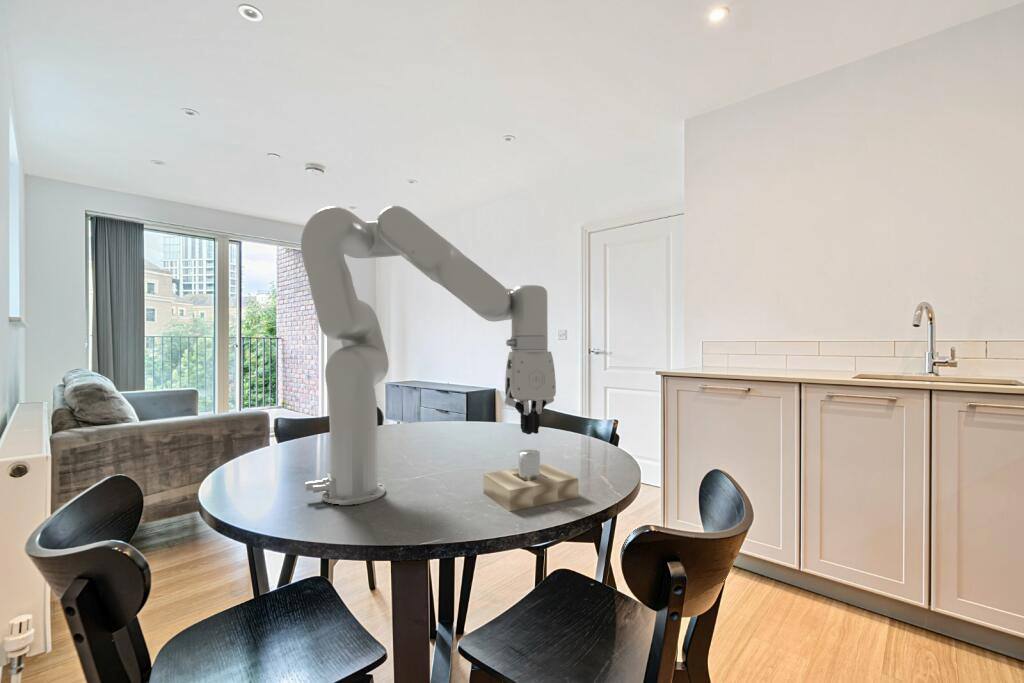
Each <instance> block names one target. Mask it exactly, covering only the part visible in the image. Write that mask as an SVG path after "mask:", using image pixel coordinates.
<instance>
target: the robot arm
mask: <svg viewBox="0 0 1024 683" xmlns="http://www.w3.org/2000/svg"><path fill="white" fill-rule="evenodd" d="M300 251H301V256H302V262H303V264H304V269H305V272H306V276H307V280H308V283H309V286H310V287H309V288H310V293H311V297H312V301H313V305H314V308H315V312H316V316H317V317H316V318H317V320H318V325H319V327H320V330H321V332H322V333H323V334H324V335H325V336H326V337H327V338H330V339H332V340H335V341H340V342H341V346H342V347H340V348H338V349H336V350H335V351H334V352H333V353H332V354H331V355H330V356H329V358H328V359H327V362H326V364H325V370H324V371H325V372H324V373H325V375H324V377H325V385H326V390H327V397H328V412H329V416H328V418H329V419H328V421H329V422H328V423H329V473H326V477H322V478H321V479H320V480H309V481H305V484H304V485H305V486H304V488H305V492H312V493H313V494H314V493H320V492H321V500H322V499H323V500H324V501H325V502H324V501H323V500H322V501H323V502H324V503H326V502H328V503H332V504H331V505H333V504H339V505H338V506H353V504H354V505H360V504H365V503H369V502H373V501H375V500H377V499H380V498H381V497H383V496H384V495H385V493H386V486H385V485H384V484H383V483H382V482H379V481H378V480H379V476H378V470H379V469H378V404H377V403H378V402H377V395H376V389H375V385H378V384H379V383H381V382H382V381H383V380H384V379H385V378H386V376H387V374H388V370H389V366H390V365H389V357H388V353H387V348H386V346H385V341H384V337H383V334H382V329H381V326H380V322H379V319H378V317H377V314H376V311H375V310H374V309H373V308H372V307H371V305H370V304H368V303H367V302H365V301H363V300H361V299H359V297H358V296H357V293H356V289H355V287H354V282H353V277H352V274H351V270H350V268H349V266H348V264H347V262H346V259H345V255H346V256H348V257H349V258H352V259H353V258H354V259H374V258H375V259H376V258H387V257H398V256H400V257H402V258H404V259H405V260H406V261H408V263H409V264H411V265H412V266H414V268H416V269H417V270H419V271H420V272H421V274H422V273H423V275H425V276H426V277H427V278H429V279H430V280H431V281H432V282H434V283H437V284H438V285H440V286H441V287H443V288H444V289H446V290H447V291H448V292H450V293H451V295H453V296H454V297H456V298H457V299H458V300H459V301H461V302H462V303H463V304H464V305H466V306H467V307H468V308H470V309H471V311H473V312H474V313H476V314H477V315H478V316H479V317H481V318H482V319H484V320H486V321H488V322H493V323H494V322H504V321H509V320H511V336H510V339H507V340H505V341H506V343H505V344H506V346H507V347H510V349H511V351H509V352H508V357H507V360H506V368H505V378H504V380H505V381H504V382H505V384H504V389H505V391H504V392H505V398H504V399H505V400H504V405H506V406H510V407H513V408H514V409H515V410H517V412H518V414H520V429H521V433H523V434H525V435H531V434H532V433H533V434H535V435H537V434H538V433H539V428H540V415H541V414H542V412H543V411H542V410H543V409H544V408H545V407H546V406H547V405H549V404H551V403H553V402H555V401H554V400H555V398H554V397H555V396H556V392H557V391H556V390H557V388H556V386H557V385H556V382H557V380H556V372H555V371H556V370H555V363H554V359H553V358H554V357H553V354H552V351H549V350H548V348H549V346H548V342H549V341H548V340H549V339H548V338H549V337H548V291H547V289H546V288H545V287H544V286H541V285H535V284H533V285H532V284H526V285H519V286H515V287H514V288H506V287H505V286H504V285H503V284H502V283H501V282H500V281H499V280H497V279H495V277H493V276H492V275H491V274H490V273H488V272H487V271H485V270H484V269H483V268H482V267H480V266H479V265H478V264H476V262H474V261H473V260H471V259H470V258H468V256H467V255H465V254H464V253H463V252H462V251H460V249H458V248H457V247H456V246H455V245H453V244H452V243H451V242H450V241H448V240H447V239H446V238H445V237H444V236H442V235H441V234H439V232H437V231H435V230H434V229H433V228H432V227H431V226H429V225H428V224H426V223H425V222H424V221H423V220H422V219H421V218H419V217H418V216H417V215H415V213H413V212H411V211H410V210H408V209H407V208H405V207H403V206H400V205H390V206H388V207H385V208H384V209H383V210H381V211H380V212H379V214H378V216H377V219H376V220H371V221H364V220H362V219H361V218H360V217H359V216H357V215H356V214H354V213H353V212H351V211H350V210H348V209H347V208H343V207H339V206H335V205H333V206H327V207H324V208H321V209H319V210H318V211H316V212H315V213H314V214H313V215H311V217H310V218H309V220H307V222H306V224H305V226H304V228H303V231H302V234H301V238H300ZM529 402H530V403H529ZM529 404H530V405H529ZM328 503H327V504H328Z"/></svg>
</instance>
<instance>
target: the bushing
mask: <svg viewBox="0 0 1024 683" xmlns="http://www.w3.org/2000/svg"><path fill="white" fill-rule="evenodd" d="M540 453H541V452H540V451H539V450H537V449H522V450H519V451H518V468H519V479H521V480H523V481H524V482H527V481H532V480H538V479H540V465H541V464H540V463H541V462H540V461H541V460H540V459H541V458H540V457H541V455H540Z"/></svg>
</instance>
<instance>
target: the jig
mask: <svg viewBox="0 0 1024 683" xmlns="http://www.w3.org/2000/svg"><path fill="white" fill-rule="evenodd" d="M482 476H483V494H485V495H486V496H488V497H489V498H490V499H492V500H493V502H496V503H497V504H499V506H501V507H503V508H504V509H506V510H507V511H508V512H513V511H519V510H523V509H528V508H533V507H537V506H543V505H549V504H553V503H558V502H561V501H563V502H564V501H568V500H573V499H577V498H579V477H577V476H575V475H573V474H570V473H569V472H566V471H564V470H562V469H559V468H557V467H555V466H553V465H550V464H548V463H546V464H540V479H538V480H532V481H527V482H524V481H523V480H521V479H519V467H518V468H514V469H512V468H511V469H505V470H501V471H493V472H487V473H483V475H482Z"/></svg>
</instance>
